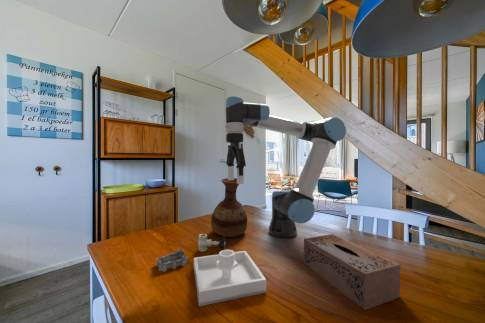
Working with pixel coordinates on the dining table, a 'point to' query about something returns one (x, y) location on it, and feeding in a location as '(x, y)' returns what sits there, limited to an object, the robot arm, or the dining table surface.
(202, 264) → the tray
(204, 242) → the valve
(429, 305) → the dining table surface
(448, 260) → the dining table surface
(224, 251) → the pipe fitting
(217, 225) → the brown vase
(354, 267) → the tissue box cover
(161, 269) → the grey open frame part
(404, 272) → the dining table surface
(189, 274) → the dining table surface
